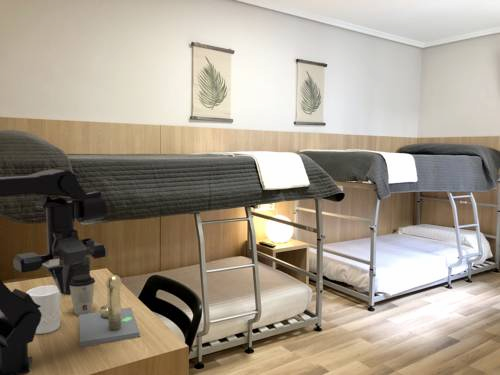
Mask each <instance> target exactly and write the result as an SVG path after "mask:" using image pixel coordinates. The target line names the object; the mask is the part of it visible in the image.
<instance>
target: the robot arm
mask: <svg viewBox="0 0 500 375" xmlns="http://www.w3.org/2000/svg"><path fill="white" fill-rule="evenodd" d="M33 194H36V195H37V194H38V195H42V198H40V199H39V200H38V201H37V202H36V203H35V207H37V208H43V209H45V212H46V213H45V214H46V215H45V216H46V229H45V230H44V232H45V233H44V234H45V235H47V236H46V237H47V246H46V247H45V252H46V254H45V253H44V254H38V253H36V252H35V251H34V252H33V251H32V252H24V253H19V254H18V253H17V254H16V255H15V256H14V258H13V260H12V261H13V268H14V269H15V270H17V271H19V272H20V273H28V272H33V271H39V270H40V269H41V267H42V268H43V269H45V270H47V272H49V274H50V275H51V277H52V279H53V281H54V283H55V286H57V287H58V289H59V291H60V293H61V295H63V293H64V292H65V293H67V292H68V290H69V287H70V284H71V281H72V278H73V275H74V273H75V271H76V269H77V268H78V267H79V266H80V265H82V264H84V262H85V261H86V257H87V256H91V257H92V258H93V259H100V258H106V257H107V248H106V246H105V245H104V244H102V243H100V242H96V241H95V240H94V239H93V237H86V238H83V239H80V238H79V233H78V230H77V229H76V226H75V225H76V224H75V220H76V221H77V222H78V223H85V222H90V221H97V220H103V219H105V218H106V216H107V214H108V205H107V203H106V201H105V199H104V198H103V197H102V192H101V191H90V192H88V193H87V192H85V191H84V189H83V188H82V186H81V185H80V184H79V182H78V179H77V176H76V174H74V173H73V171H71V170H67V169H47V170H46V169H45V170H43V171H37V172H34V173H31V174H27V175H15V176H0V197H6V196H7V197H9V196H19V195H33ZM50 196H55V197H54V198H51V197H50ZM57 196H58V197H57ZM65 198H68V199H71V200H66V199H65ZM60 261H61V262H62V266H61V265H60ZM62 275H63V277H62ZM39 307H41V306H40V305H38V304H36V303H35V302H34V301H33V299H32V298H31V296H30V295H29V294H27V292H25V291H22V290H20V289H17V288H14V289H13V290H11V289H9V288H8V286H7V285H6V284H4V282H3V281H2V280H1V279H0V375H20V374H26V373H29V372H30V371H31V366H32V360H33V356H31V355H29V345H28V344H30V343H31V342H33V341H34V339H35V335H36V334H35V332H36V329H37V326H38V325H39V323H40V321H41V317H42V314H41V312H40V310H39V309H38V308H39Z"/></svg>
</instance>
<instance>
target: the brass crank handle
mask: <svg viewBox="0 0 500 375" xmlns="http://www.w3.org/2000/svg"><path fill="white" fill-rule="evenodd" d="M121 285H122V279H121V278H120V276H119V275H116V274H112V275H109V276H108V277H107V278H106V281H105V287H106V289H107V304H105V305H102V306H101V307H100V312H101V317H103V318H108V326H109V329H110V330H116V329H119V328H121V309H122V308H121V304H122V303H121V302H122V301H121Z"/></svg>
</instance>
